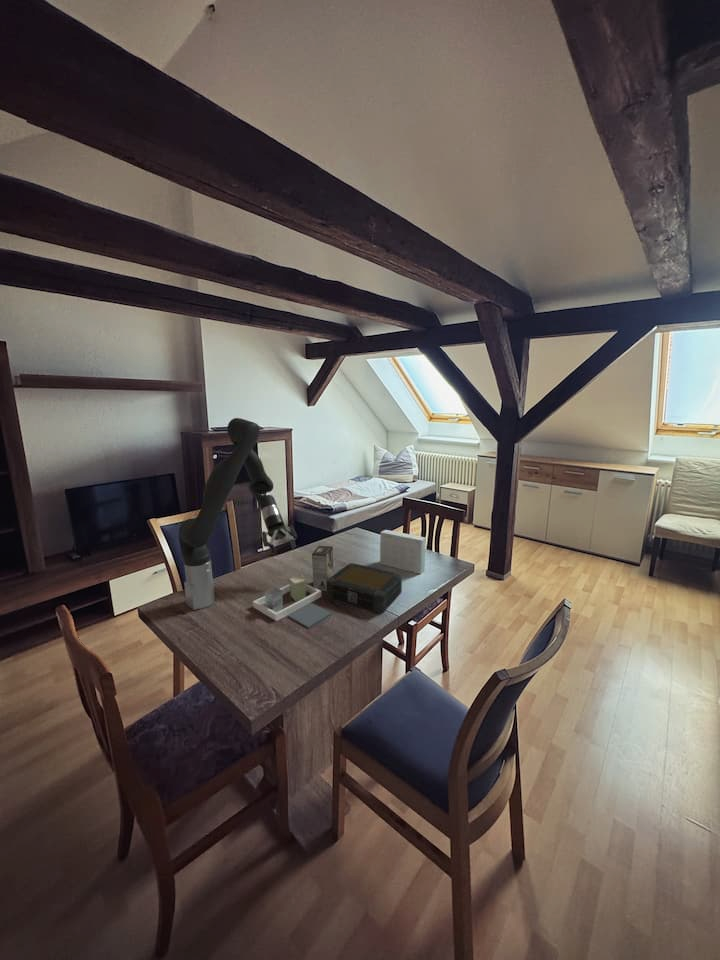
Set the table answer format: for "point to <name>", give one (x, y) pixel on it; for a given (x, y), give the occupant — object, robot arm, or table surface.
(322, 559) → the coffee box
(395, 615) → the table surface
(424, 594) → the table surface
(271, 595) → the grey tin
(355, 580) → the cash box
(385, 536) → the skincare box
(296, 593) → the olive tin
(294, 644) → the table surface
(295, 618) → the charcoal mat
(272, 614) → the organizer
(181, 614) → the table surface
